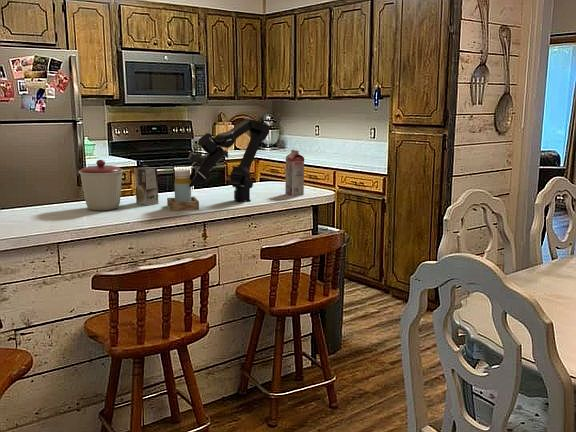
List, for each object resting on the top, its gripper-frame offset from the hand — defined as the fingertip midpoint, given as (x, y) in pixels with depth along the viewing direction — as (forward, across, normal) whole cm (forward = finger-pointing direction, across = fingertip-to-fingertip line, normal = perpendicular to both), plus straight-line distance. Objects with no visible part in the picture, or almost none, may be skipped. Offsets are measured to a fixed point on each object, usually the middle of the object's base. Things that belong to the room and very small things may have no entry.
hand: (188, 184), depth 245 cm
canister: (+32, -6, -18) cm, 37 cm away
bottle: (+8, 0, +4) cm, 9 cm away
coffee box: (+19, -13, -5) cm, 24 cm away
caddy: (+9, 0, +5) cm, 10 cm away
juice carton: (-31, -18, +47) cm, 59 cm away
